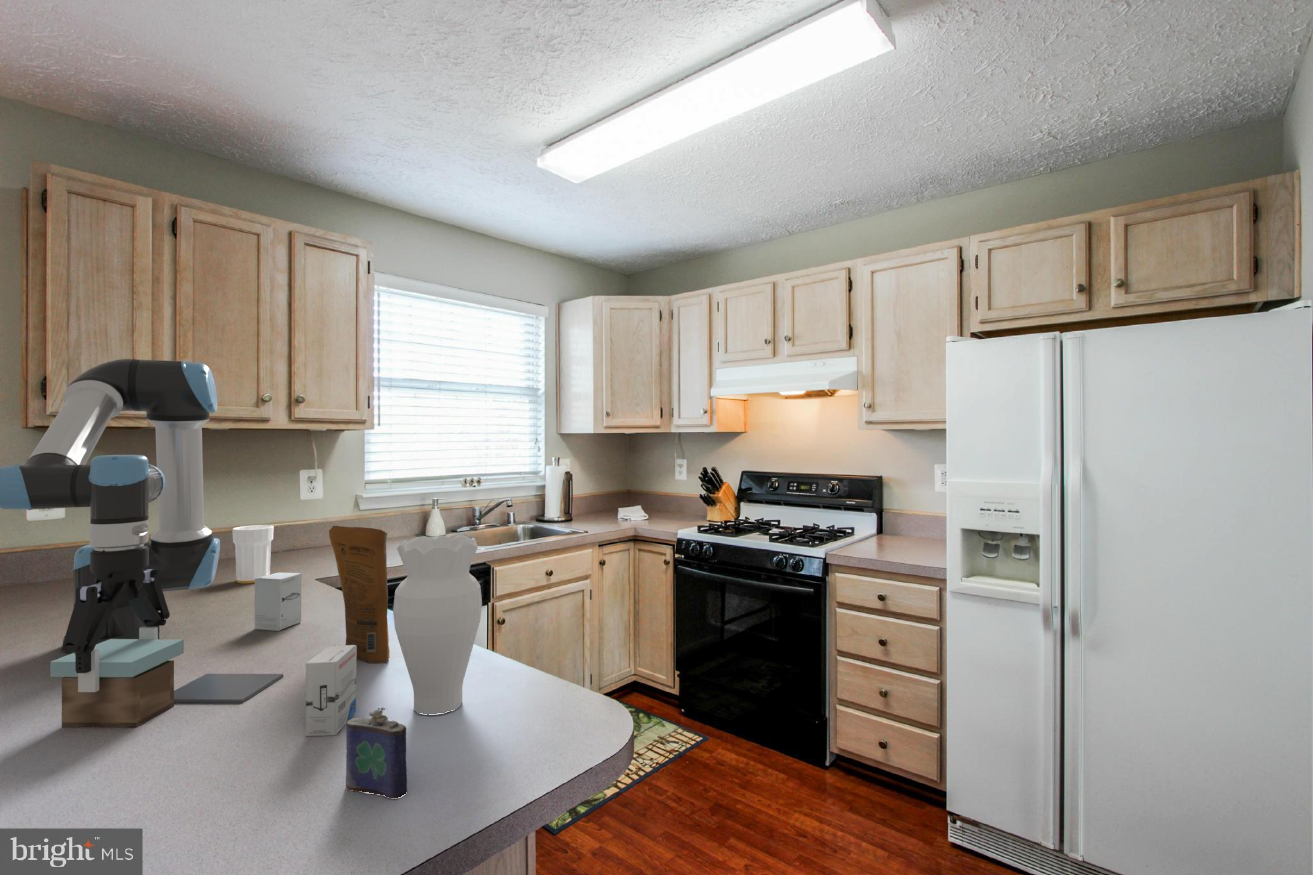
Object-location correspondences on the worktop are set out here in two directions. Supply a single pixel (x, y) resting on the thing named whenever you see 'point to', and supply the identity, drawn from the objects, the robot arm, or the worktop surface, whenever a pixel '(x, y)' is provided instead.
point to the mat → (224, 688)
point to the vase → (437, 618)
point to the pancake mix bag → (363, 589)
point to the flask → (376, 755)
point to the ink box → (330, 690)
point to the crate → (119, 699)
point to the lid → (123, 657)
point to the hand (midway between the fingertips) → (120, 676)
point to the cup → (252, 552)
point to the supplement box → (277, 601)
